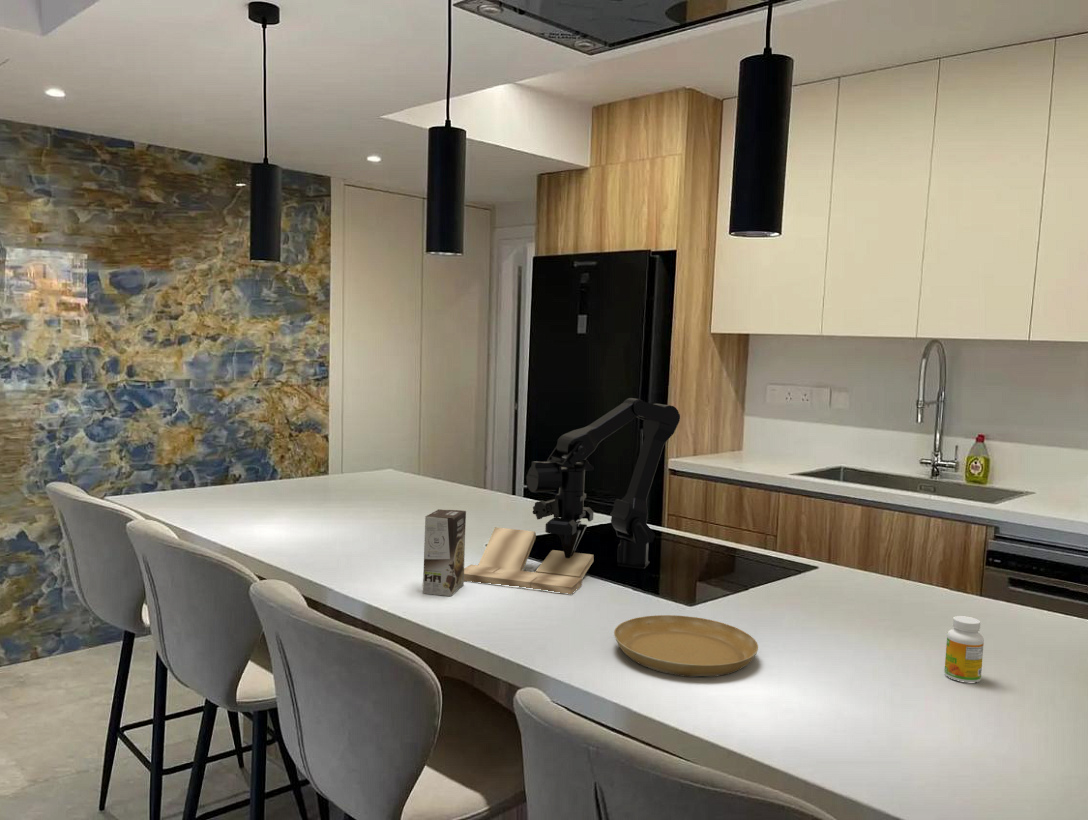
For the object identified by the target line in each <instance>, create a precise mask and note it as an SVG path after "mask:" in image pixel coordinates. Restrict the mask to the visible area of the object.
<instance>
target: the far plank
mask: <svg viewBox="0 0 1088 820" xmlns="http://www.w3.org/2000/svg"><path fill="white" fill-rule="evenodd" d="M536 538H537V534H536V531H534V530H533V531H532V530H522V529H513V528H505V527H504V528H503V527H494V529H493V531H492V533H491V536H490V537H489V540H488V543H487V544H486V547H485V549H484V551H483V553H482V556H481V558H480V560H479V563H478V564H477V565H479V566H487V567H495V568H503V569H512V570H520V571H524V568H525V566H526V563H527V561H528V559H529V556H530V553H531V551H532V548H533V546H534V543H535V542H536Z"/></svg>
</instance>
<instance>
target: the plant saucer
mask: <svg viewBox="0 0 1088 820" xmlns="http://www.w3.org/2000/svg"><path fill="white" fill-rule="evenodd" d="M613 634H614V635H613V636H614V638H615V641H616V644H617V645H618V647H619V648H620V649H621V651H623V653H624V654H625V655H626V656H627V657H628V658H630V659H631V660H632V661H634V662H636V664H639V665H641V666H643V667H645V668H647V667H648V669H650V670H653V671H656V670H657V671H656V672H659V671H660V673H663V672H664V673H665V674H668V673H670V674H669V675H673V674H676V675H675V676H680V675H684V676H683V677H690V676H712V677H718V676H717V675H720V676H725V675H729V674H733V673H734V672H735V673H736V672H737V671H739V670H741V669H742V668H744V667H745V666H747V665H748V664H749V663H750V662H752V661H753V659H754V658H755V657H756V655H757V653H758V651H759V644H758V641H756V639H755V638H754V637H753V636H752V635H751V634H749V633H747V632H745V631H744V630H742V629H740V628H738V627H736V626H732V625H729V624H728V623H724V622H721V621H718V620H717V621H716V620H712V619H707V618H702V617H697V616H696V617H695V616H688V615H676V614H675V615H669V614H666V615H665V614H663V615H662V614H661V615H660V614H659V615H658V614H657V615H656V614H655V615H646V616H645V615H644V616H640V617H634V618H631V619H628V620H625V621H622V622H621V623H620V624H618V625H617V626H616V627H615V629H614V631H613ZM728 673H729V674H728ZM724 674H725V675H724Z"/></svg>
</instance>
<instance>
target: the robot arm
mask: <svg viewBox="0 0 1088 820" xmlns="http://www.w3.org/2000/svg"><path fill="white" fill-rule="evenodd" d="M636 418H638V419H640V420H643V423H642V428H643V429H642V430H643V435H644V438H643V440H642V441H643V442H642V445H641V448H640V451H639V455H638V456H637V457H638V458H637V461H636V463H635V467H634V470H633V473H632V476H631V480H630V483H629V485H628V488H627V492H626V494H625V495H624V496H623V497H622V498H621V499H618V498H615V499H614V503H613V507H612V510H611V512H610V513H609V515H610V516H611V518H610V523H611V525H612V527H613V529H614V530H615V533H616V536H617V537H619V538H620V541H619V544H618V546H617V559H616V560H617V567H621V568H622V567H623V568H633V569H638V570H639V569H640V570H645V569H646V568H647V567H648V565H649V564H650V561H649V544H650V543H653V542H654V539H655V536H656V533H655V532H654V531H653V530H652V528H650V526H649V525H648V524H647V522H648V515H649V511H648V506H647V505H648V503H647V499H648V496H649V493H650V491H651V487H652V484H653V481H654V477H655V474H656V471H657V469H658V466H659V465H658V464H659V463H660V462H659V461H660V458H661V455H662V452H663V449H664V446H665V444H666V442H668V441H669V439H670V438H671V437H672V436H673V435H674V434H675V431H676V430H677V428H678V425H679V423H680V422H681V421H680V420H681V414H680V413H679V410H678V409H677V407H675V405H670V404H662V403H650V402H647V401H644V400H642V399H641V398H633V397H629V398H626V399H625V400H624V401H623V402H622V403H620V404H619V405H617V406H616V407H615V408H613V409H611V410H610V411H608V412H607V413H605V414H604V415H602V416H601V417H599V418H598V419H596V420H595V421H593V422H592V423H590V424H588V425H587V426H585V427H580V428H577V429H573V430H571V431H568V432H566V433H564V434H562V435H561V436H559V438H558V439H557V443H556V446H555V447H554V449H553V450H552V452H551V454H550V455H549V457H548V458H547V459H546V461H537V460H536V461H535V460H534V461H533V460H532V461H531V466H530V467H529V469H528V471H527V474H526V486H527V488H528V490H529V492H531V493H542V492H555V491H558V493H557V494H556V495H555V496H554V499H550V500H546V501H545V500H543V499H542V500H540V501H536V502H535V503H534V505H533V506H532V510H533V511H532V514H533V515H535V517H536V519H537V520H541V519H543V518H545V517H546V518H547V517H549V516H553V518H551V519H549V520H548V521H547V522H545V529H544V530H545V531H544V532H545V533H547V534H551V535H552V534H554V535H558V536H559V539H560V541H561V545H562V549H563V550H562V551H564V554H565V558H570V557H571V556H573V554H574V553H576V550H577V547H578V546H579V543H580V541H581V539H582V537H583V535H584V533H585V531H586V530H587V527H588V524H585V523H584V524H583V523H582V519H583V520H584V519H586V520H587V521H588V522H592V521H593V520H594V513H595V512H594V510H592V508H591V507H589V506H588V507H586V506H584V505H585V504H584V501H585V499H587V493H585V479H586V478H585V477H586V476H585V475H586V471H594V470H595V469H594V468H595V467H594V466H593V465H591V464H590V462H589V461H588V460H587V458H588V457H589V456H590V455H592V453H594V452H595V450H597V448H598V445H599V444H600V443H601V442H602V441H603V440H605V439H606V438H608V437H610V436H611V435H612V434H614V433H615V432H617V431H619V430H620V429H622V428H623V427H624V426H625V425H627V424H629V423H630V422H632V421H633V420H634V419H636Z"/></svg>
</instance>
